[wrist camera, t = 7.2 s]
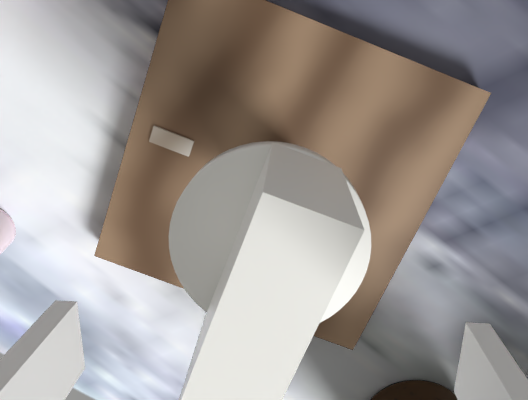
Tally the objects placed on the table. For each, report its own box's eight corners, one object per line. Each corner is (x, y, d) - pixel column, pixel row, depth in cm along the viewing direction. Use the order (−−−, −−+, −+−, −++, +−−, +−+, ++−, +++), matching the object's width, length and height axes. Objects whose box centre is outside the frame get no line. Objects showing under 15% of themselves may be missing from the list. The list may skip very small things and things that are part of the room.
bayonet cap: (210, 111, 23) (160, 153, 14) (399, 184, 23) (460, 266, 15) (145, 305, 27) (76, 430, 18) (310, 363, 27) (318, 511, 19)
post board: (479, 90, 33) (572, 115, 22) (350, 335, 40) (371, 447, 29) (185, -32, 32) (128, -69, 21) (104, 245, 39) (29, 327, 28)
